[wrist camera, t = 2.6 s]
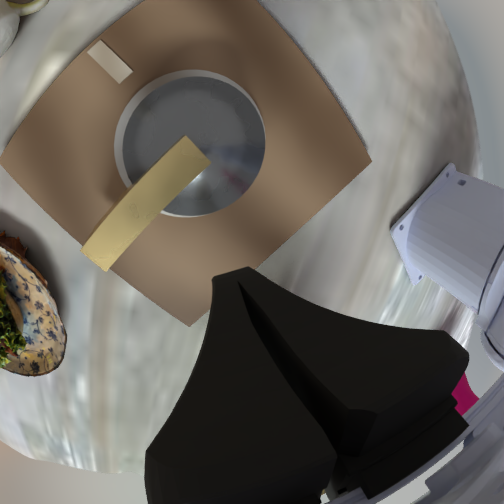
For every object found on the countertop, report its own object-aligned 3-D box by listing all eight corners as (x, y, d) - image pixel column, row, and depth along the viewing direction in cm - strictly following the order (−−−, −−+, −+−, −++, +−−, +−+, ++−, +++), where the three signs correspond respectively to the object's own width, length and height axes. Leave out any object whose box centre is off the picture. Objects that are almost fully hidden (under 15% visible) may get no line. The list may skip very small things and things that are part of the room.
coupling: (198, 60, 11) (209, 39, 8) (275, 148, 14) (306, 156, 11) (66, 192, 11) (40, 213, 8) (149, 266, 14) (147, 303, 11)
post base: (211, -33, 9) (215, -42, 8) (364, 159, 17) (375, 162, 16) (4, 159, 10) (-6, 162, 9) (188, 319, 18) (190, 331, 17)
